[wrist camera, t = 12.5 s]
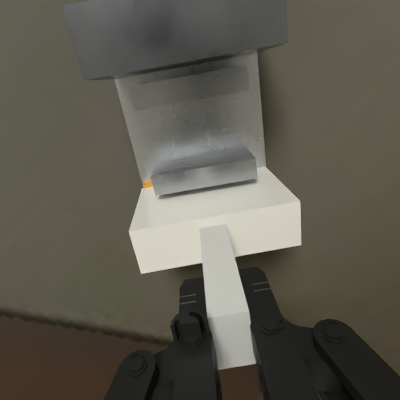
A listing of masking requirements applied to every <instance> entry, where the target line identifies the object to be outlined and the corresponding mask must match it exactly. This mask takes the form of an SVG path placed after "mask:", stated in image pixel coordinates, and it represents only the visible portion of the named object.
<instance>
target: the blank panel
mask: <svg viewBox="0 0 400 400" xmlns="http://www.w3.org/2000/svg"><path fill="white" fill-rule="evenodd" d="M257 176H258V178H256V179H251V180H245V181H239V182H233V183H228V184H222V185H216V186H210V187H204V188H199V189H193V190H187V191H181V192H176V193H170V194H164V195H158V196H155V193H154V189H153V187H148V188H142V190H141V193H140V197H139V200H138V203H137V207H136V210H135V213H134V216H133V220H132V223H131V226H130V230H129V234H130V237H131V241H132V244H133V247H134V251H135V254H136V257H137V261H138V264H139V268H140V271H141V274H143V273H148V272H154V271H159V270H165V269H170V268H176V267H182V266H187V265H193V264H198V263H202V253H201V241H200V230H199V228H205V227H210V226H216V225H222V224H226V227H227V231H228V235H229V238H230V242H231V246H232V250H233V253H234V257H237V256H243V255H249V254H254V253H260V252H265V251H271V250H276V249H282V248H288V247H293V246H299V245H301V212H300V200H299V199H298V198H297V197H296V196H295V195H294V194H293V193H292V192H291V191H290V190H288V189H287V188H286V187H285V186H284V185H283V184H282V183H281V182H280V181H279V180H278V179H277V178H276V177H275V176H274V175H273V174H272V173H271V172H270V171H269V170H268V169H267V168H266V167H261V168H257Z"/></svg>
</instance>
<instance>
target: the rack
mask: <svg viewBox="0 0 400 400" xmlns="http://www.w3.org/2000/svg"><path fill="white" fill-rule="evenodd" d="M63 10H64V13H65V16H66V20H67V23H68V26H69V30H70V33H71V36H72V39H73V43H74V46H75V49H76V53H77V56H78V59H79V62H80V66H81V69H82V72H83V76H84V79H85V80H103V79H115V83H116V86H117V90H118V94H119V98H120V101H121V105H122V109H123V113H124V116H125V120H126V124H127V128H128V132H129V135H130V139H131V143H132V147H133V150H134V154H135V158H136V162H137V165H138V169H139V173H140V177H141V181H142V184H143V188H148V187H153V189H154V193H155V196H158V195H164V194H170V193H176V192H181V191H187V190H193V189H199V188H204V187H210V186H216V185H222V184H228V183H233V182H239V181H245V180H251V179H256V178H258V176H257V168H261V167H266V158H265V145H264V133H263V120H262V107H261V95H260V82H259V69H258V57H257V53H258V52H261V51H264V50H267V49H270V48H273V47H276V46H279V45H282V44H285V43H287V29H286V4H285V0H90V1H85V2H80V3H74V4H69V5H64V6H63Z"/></svg>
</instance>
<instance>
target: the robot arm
mask: <svg viewBox="0 0 400 400" xmlns="http://www.w3.org/2000/svg"><path fill="white" fill-rule="evenodd" d="M199 230H200V241H201V253H202V264H203V275H204V277H199V278H193V279H187V280H184V282H183V283H182V285H181V287H180V305H179V314H177V315H176V316H175V317H174V319H173V320H172V322H171V326H170V327H171V330H172V334H173V337H174V342H173V343H172V344H171V345H170V346H169V347H168V348H166V349H164V350H162V351H160V352H158V353H156V354H154V355H153V354H152V353H151V352H150V351H147V350H138V351H135V352H133V353H131V354H129V355H128V356H127V357H126V358H125V359H124V360H123V361H122V363H121V364H120V366H119V368H118V370H117V372H116V374H115V377H114V379H113V381H112V383H111V385H110V387H109V389H108V392H107V394H106V396H105V398H104V400H222V392H221V383H220V379H219V373H218V370H220V369H226V368H232V367H239V366H245V365H251V364H256V365H257V369H258V377H259V385H260V391H262V394H263V398H264V400H319V397H318V395H317V392H318V394H319V395H320V397H321V398H322V399H323V400H400V376H399V375H398V374H397V373H396V372H395V371H394V370H393V369H392V368H391V367H390V366H389V365H388V364H387V363H386V362H385V361H384V360H383V359H382V358H381V357H380V356H379V355H378V354H377V353H376V352H375V351H374V350H373V349H372V348H370V347H369V346H368V345H367V344H366V343H365V342H364V341H363V340H362V339H361V338H360V337H359V336H358V335H357V334H356V333H355V332H354V331H353V330H352V329H351V328H350V327H349V326H348V325H346V324H345V323H343V322H340V321H338V320H333V319H326V320H321V321H320V322H318V323H316V325H315V327H314V328H308V327H300V326H296V325H294V324H291V323H289V322H288V321H286V320H285V319H284V318H283V316H282V315H281V313H280V311H279V308H278V306H277V303H276V301H275V298H274V296H273V293H272V291H271V289H270V286H269V283H268V281H267V278H266V276H265V273H264V272H263V271H261V270H260V269H259V268H258V267H255V268H249V269H243V270H238V268H237V264H236V261H235V257H234V253H233V250H232V246H231V242H230V238H229V235H228V231H227V227H226V224H222V225H216V226H210V227H205V228H199ZM316 390H317V392H316Z"/></svg>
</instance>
